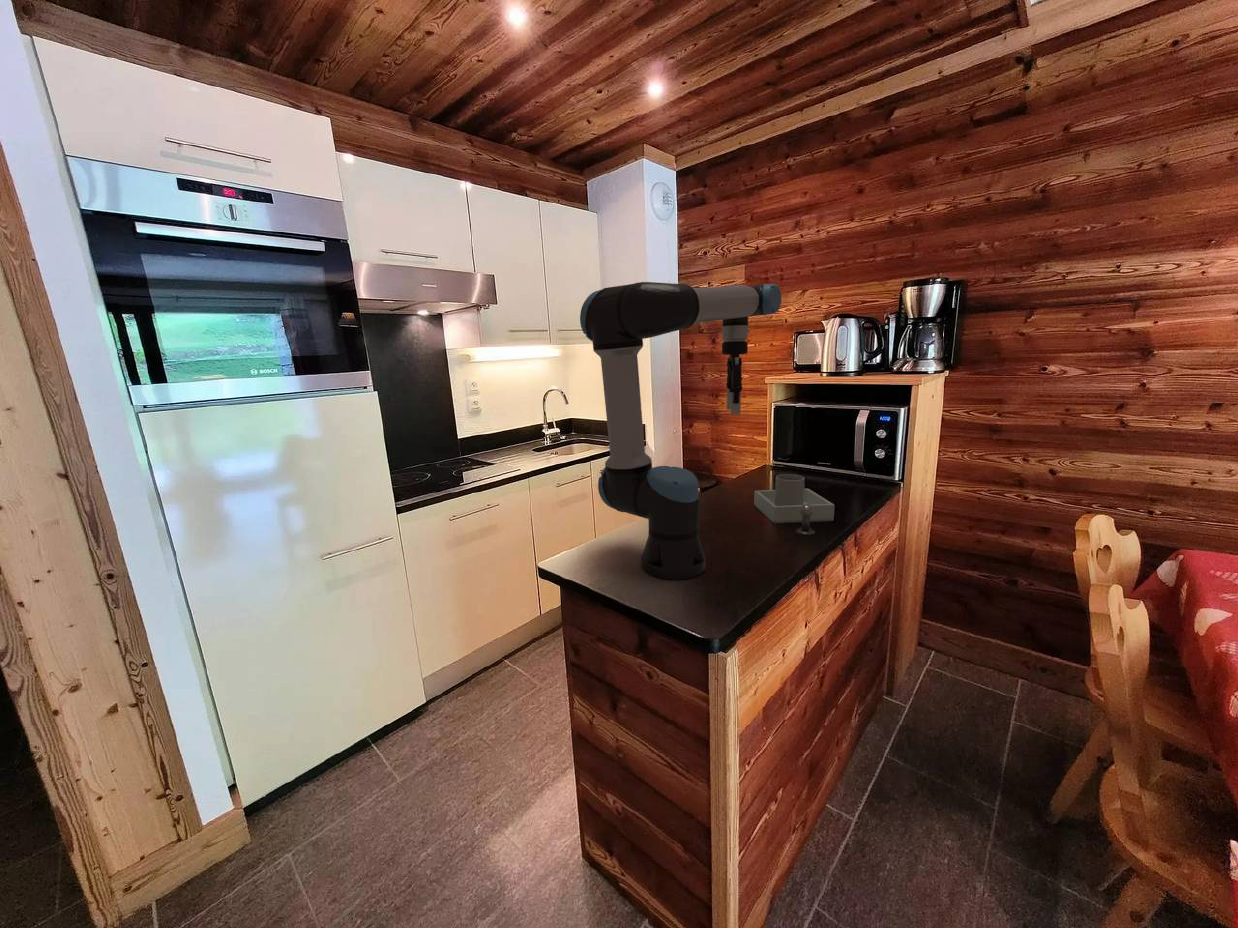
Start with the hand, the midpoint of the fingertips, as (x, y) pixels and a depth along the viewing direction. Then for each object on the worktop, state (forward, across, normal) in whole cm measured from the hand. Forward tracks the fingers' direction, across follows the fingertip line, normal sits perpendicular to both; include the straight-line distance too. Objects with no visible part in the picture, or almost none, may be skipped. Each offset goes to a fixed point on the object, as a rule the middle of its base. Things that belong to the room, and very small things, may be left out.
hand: (733, 412), depth 148 cm
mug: (+31, -1, -19) cm, 36 cm away
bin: (+32, -2, -19) cm, 37 cm away
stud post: (+32, -19, -19) cm, 41 cm away
